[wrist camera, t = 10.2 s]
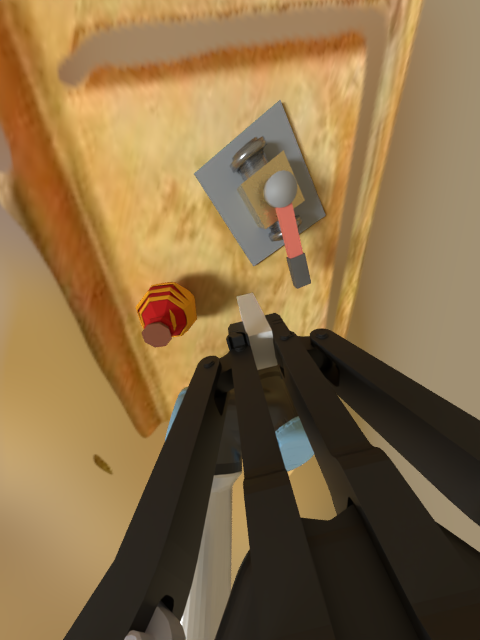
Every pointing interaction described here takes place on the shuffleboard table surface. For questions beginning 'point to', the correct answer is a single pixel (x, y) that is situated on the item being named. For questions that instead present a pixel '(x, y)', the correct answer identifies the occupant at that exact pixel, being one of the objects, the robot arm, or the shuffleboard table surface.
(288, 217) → the lever
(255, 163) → the valve body
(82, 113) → the shuffleboard table surface
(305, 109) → the shuffleboard table surface
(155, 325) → the potion bottle
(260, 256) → the slate board
